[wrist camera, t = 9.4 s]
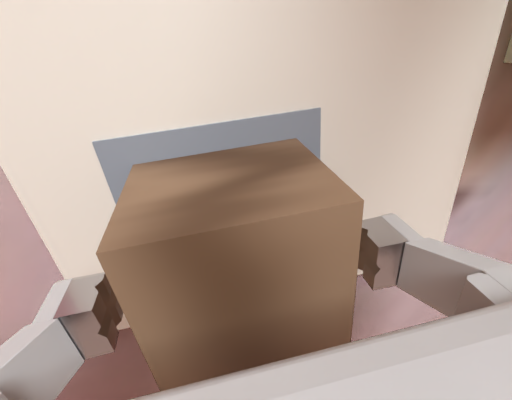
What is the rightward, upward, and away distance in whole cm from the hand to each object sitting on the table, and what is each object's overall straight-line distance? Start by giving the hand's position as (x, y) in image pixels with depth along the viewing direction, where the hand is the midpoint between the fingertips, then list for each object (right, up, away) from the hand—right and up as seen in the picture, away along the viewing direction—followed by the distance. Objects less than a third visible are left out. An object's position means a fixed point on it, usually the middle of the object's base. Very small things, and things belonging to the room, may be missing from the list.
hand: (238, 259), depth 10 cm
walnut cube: (-1, +1, +2) cm, 3 cm away
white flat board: (+1, +4, +2) cm, 4 cm away
